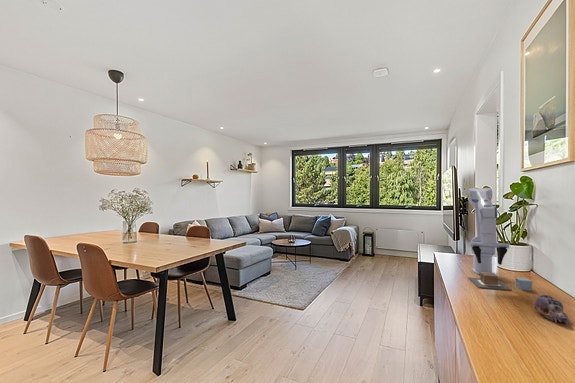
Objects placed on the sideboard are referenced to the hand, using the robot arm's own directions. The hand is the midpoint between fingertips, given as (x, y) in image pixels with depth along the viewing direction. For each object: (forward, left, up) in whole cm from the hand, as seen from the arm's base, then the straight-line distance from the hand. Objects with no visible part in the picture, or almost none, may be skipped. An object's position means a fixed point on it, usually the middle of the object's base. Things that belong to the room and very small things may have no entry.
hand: (489, 263), depth 120 cm
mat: (0, -1, -9) cm, 9 cm away
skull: (+32, +7, -10) cm, 34 cm away
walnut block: (0, 0, -9) cm, 9 cm away
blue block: (+2, +11, -10) cm, 15 cm away
